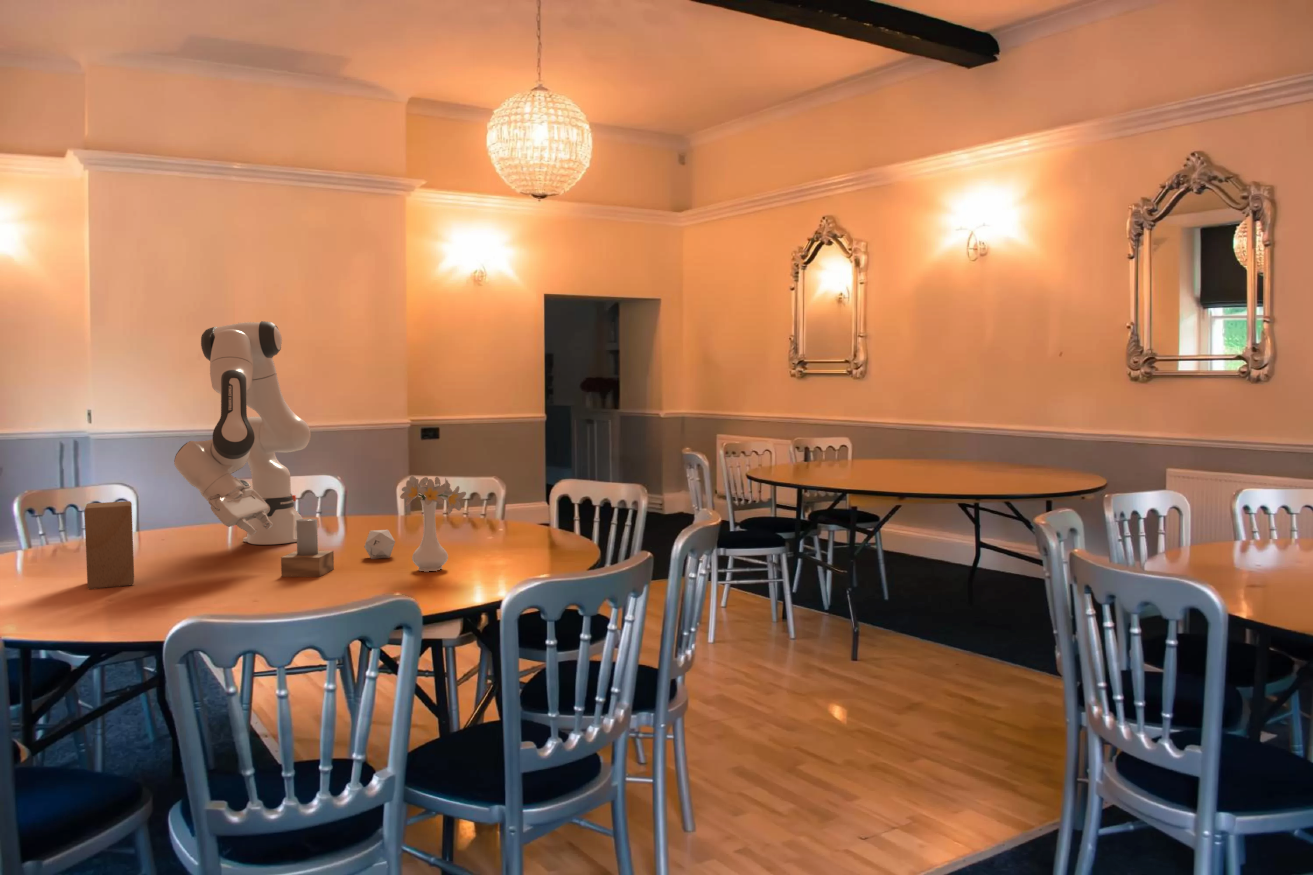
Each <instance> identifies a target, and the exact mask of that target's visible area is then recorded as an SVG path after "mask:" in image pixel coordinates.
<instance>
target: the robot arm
mask: <svg viewBox="0 0 1313 875" xmlns="http://www.w3.org/2000/svg"><path fill="white" fill-rule="evenodd" d="M282 339H283V338H282V334H281V331H280V330H279V328H278V326H277V325H276V324H275V323H273V322H272V321H264V320H263V321H262V320H261V321H259V322H257V321H256V322H254V321H252V322H251V321H250V322H249V321H247V322H245V321H244V322H238V323H232V324H226V325H222V326H213V327H209V328H207V329H204V331H203V333H202V334H201V337H200V347H201V350H202V353H203V356H204V357H205V359H206V360H208V361H209V372H210V373H209V376H210V382H211V387H212V389H213V390H214V392H216V393H218V394H219V395H220V418H219V420H218V421H217V423H216V425H215V427H214V429H213V431H212V439H207V440H201V441H195V440H190V441H187V442H185V443H184V444H183V445H182V446H181V447H180V449H179V450H178V451H177V452H176V454H175V456H174V460H173V461H174V464H173V465H174V466H175V468H176V470H177V471H178V473H180V475H181V476H182V477H183V478H184V479H185V480H186V482H188V483H189V484H190V485H191V486H192V487H194V488H196V489H197V490H198V491H199V492H200V494H201V496H202V497H203V498H204V499H205V500H206V501H207V503H208V504H209V505H210V510H211V512H213V513H212V514H214V515H215V516H216V517H217V519H218V520H219V521H220V522H221V523H222V524H223V525H224V526H226V527H228V528H230V527H233V526H237V527H238V528H239V529H241V530H243V531H244V532H246V536H245V537H243V539H242V541H243V542H245V543H248V544H251V545H281V544H290V543H297V529H296V520H299V519H304V518H303V516H302V515H301V514H300V513H299V512H298V510H296V509H295V507H294V506H295V502H296V500H297V495H295V494H294V495H292V492H291V491H292V486H291V472H290V470H289V468H288V467H286V466H285V465H283V464H282V463H281V462H280V461H279V460H278V458H277V456H276V453H291V452H292V453H294V452H297V451H301V450H304V449H306V448H307V446H308V444H309V443H310V441H311V435H312V433H311V428H310V426H309V424H308V423H307V421H305V420H304V419H302V417H300V416H298V415H297V414H296V413H295V412H294V411H293V410H292V409H291V408H290V406H289V404H288V403H287V402H286V400H285V398H284V395H283V393H282V390H281V386H280V382H279V378H278V375H277V374H278V373H277V370H276V369H277V368H276V366H275V362H274V359H273V358H274V356H277V355H278V353H279V352H280V351H281V350H282V342H283V340H282ZM247 407H248V408H250V409H252V410H254V411H255V412H256V413H257V414H258V416H248V415H247V414H248V412H247ZM246 464H248V467H249V470H250V474H251V483H250V482H248V480H245V479H240V478H238V477H234V476H233V475H232V474H233V473H235V472H237V471H239V470H241V469H243V467H244V466H246ZM251 486H252V487H251Z"/></svg>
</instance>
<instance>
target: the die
mask: <svg viewBox="0 0 1313 875" xmlns="http://www.w3.org/2000/svg"><path fill="white" fill-rule="evenodd" d="M395 543H396V540H395V538H394V537H393V535H392V534H391V532H390V530H389V529H377V530H369V533H368V535H367V538H366V540H365V543H364V549H365V550H366V553H367V555H368V556H369V558H370V559H371V560H377V559H389V558H391V555H392V552H393V549H394V547H395Z"/></svg>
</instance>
